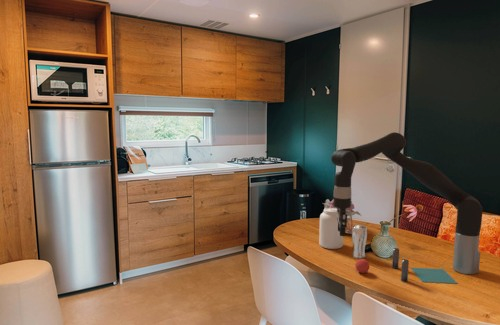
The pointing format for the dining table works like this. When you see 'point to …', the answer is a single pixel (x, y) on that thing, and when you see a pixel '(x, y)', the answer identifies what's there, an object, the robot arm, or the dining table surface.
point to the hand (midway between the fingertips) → (341, 233)
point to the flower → (348, 210)
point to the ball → (362, 265)
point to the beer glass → (359, 240)
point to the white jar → (329, 230)
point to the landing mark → (433, 275)
